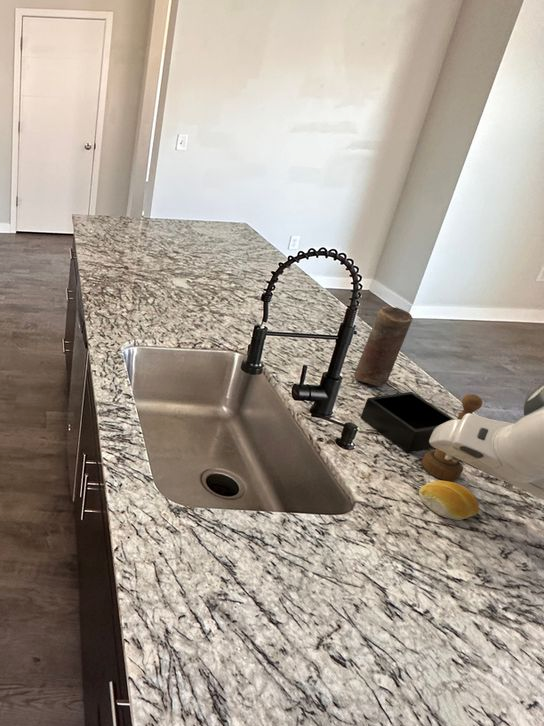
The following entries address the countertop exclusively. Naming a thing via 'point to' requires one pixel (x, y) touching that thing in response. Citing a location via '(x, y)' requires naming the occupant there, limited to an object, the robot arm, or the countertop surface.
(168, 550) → the countertop surface
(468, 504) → the bread roll
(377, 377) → the candle
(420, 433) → the black open square box
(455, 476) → the mortar and pestle
